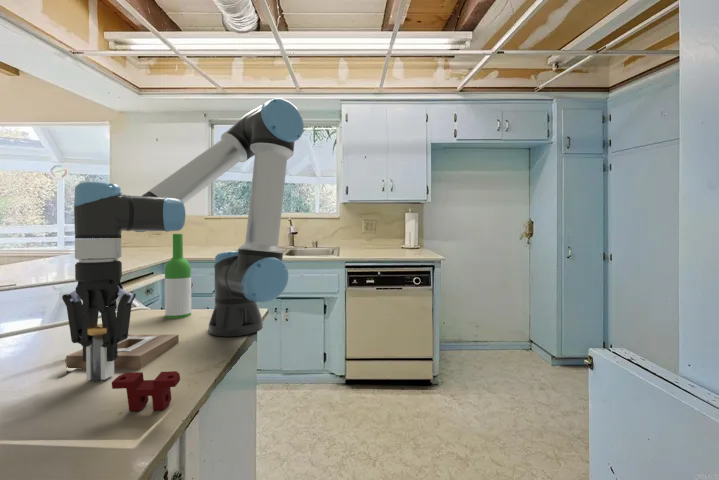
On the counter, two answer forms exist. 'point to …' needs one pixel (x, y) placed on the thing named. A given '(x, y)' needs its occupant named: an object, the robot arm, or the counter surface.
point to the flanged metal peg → (97, 350)
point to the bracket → (147, 389)
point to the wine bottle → (177, 282)
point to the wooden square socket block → (132, 351)
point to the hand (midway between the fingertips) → (100, 376)
